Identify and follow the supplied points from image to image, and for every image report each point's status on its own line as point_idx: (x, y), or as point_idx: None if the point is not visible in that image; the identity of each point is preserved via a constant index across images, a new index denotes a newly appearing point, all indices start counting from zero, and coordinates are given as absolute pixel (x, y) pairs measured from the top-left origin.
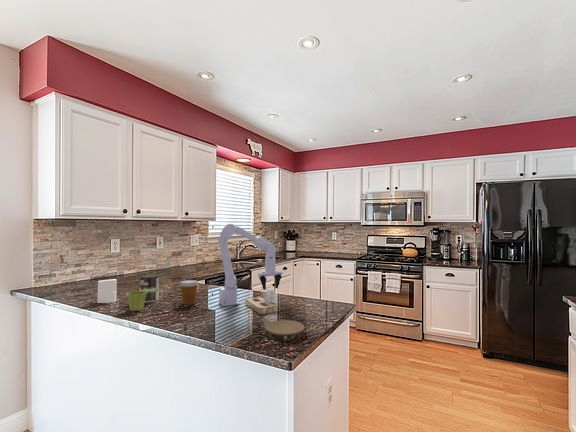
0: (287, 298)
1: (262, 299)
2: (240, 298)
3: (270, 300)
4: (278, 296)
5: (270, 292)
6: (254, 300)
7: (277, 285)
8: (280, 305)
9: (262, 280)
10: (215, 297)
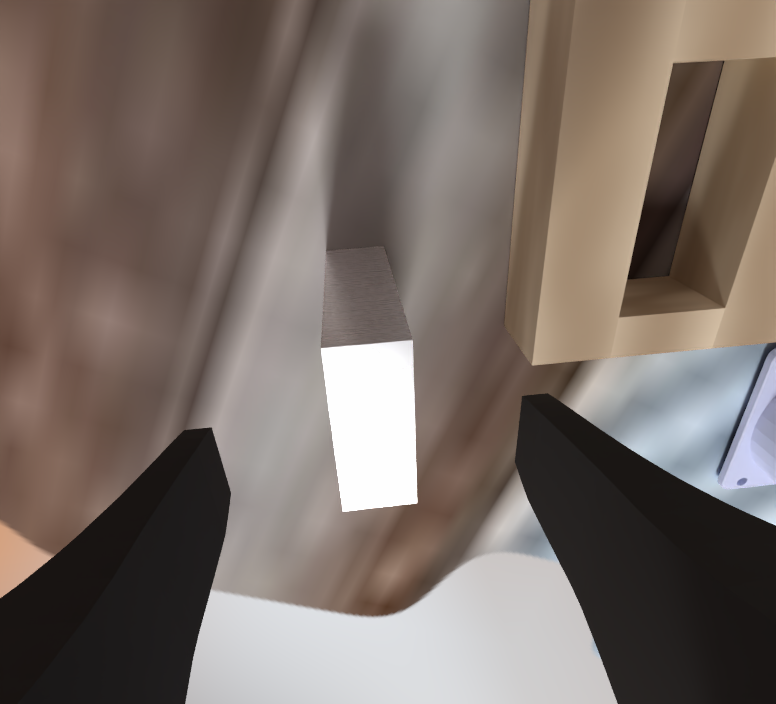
0: (37, 397)
1: (590, 206)
2: None
3: (387, 262)
4: None
5: (405, 325)
6: (649, 301)
7: (169, 469)
8: (272, 4)
9: None
10: None
